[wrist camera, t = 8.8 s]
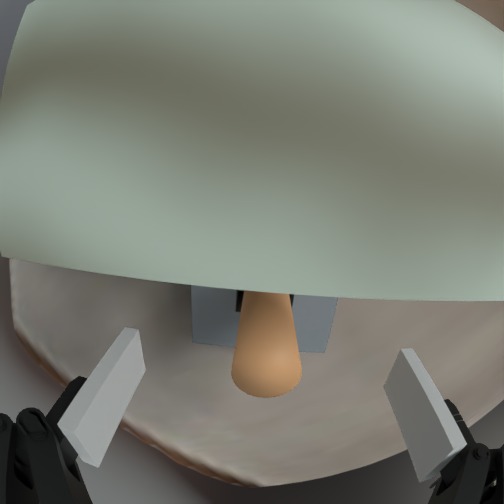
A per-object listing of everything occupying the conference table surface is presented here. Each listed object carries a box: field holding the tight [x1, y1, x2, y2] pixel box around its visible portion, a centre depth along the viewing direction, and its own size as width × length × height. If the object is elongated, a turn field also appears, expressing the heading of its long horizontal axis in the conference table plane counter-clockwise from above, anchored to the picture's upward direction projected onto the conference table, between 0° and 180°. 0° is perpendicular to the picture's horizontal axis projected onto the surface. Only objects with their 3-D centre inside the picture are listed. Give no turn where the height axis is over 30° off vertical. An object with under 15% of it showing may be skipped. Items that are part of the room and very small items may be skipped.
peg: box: [231, 290, 302, 398], centre depth 19 cm, size 3×3×14 cm
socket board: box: [191, 285, 338, 353], centre depth 23 cm, size 18×12×4 cm, turn 176°
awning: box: [0, 0, 504, 301], centre depth 14 cm, size 8×17×19 cm, turn 86°
